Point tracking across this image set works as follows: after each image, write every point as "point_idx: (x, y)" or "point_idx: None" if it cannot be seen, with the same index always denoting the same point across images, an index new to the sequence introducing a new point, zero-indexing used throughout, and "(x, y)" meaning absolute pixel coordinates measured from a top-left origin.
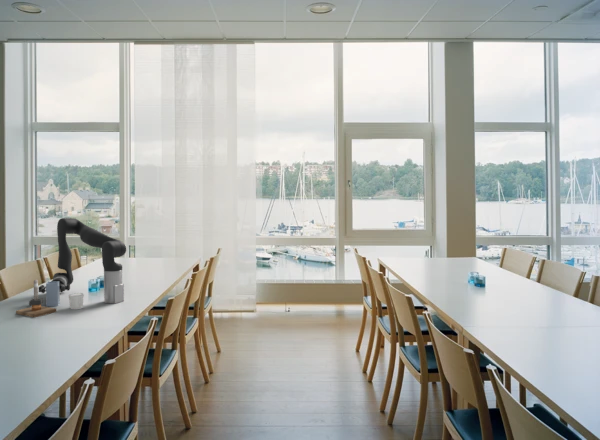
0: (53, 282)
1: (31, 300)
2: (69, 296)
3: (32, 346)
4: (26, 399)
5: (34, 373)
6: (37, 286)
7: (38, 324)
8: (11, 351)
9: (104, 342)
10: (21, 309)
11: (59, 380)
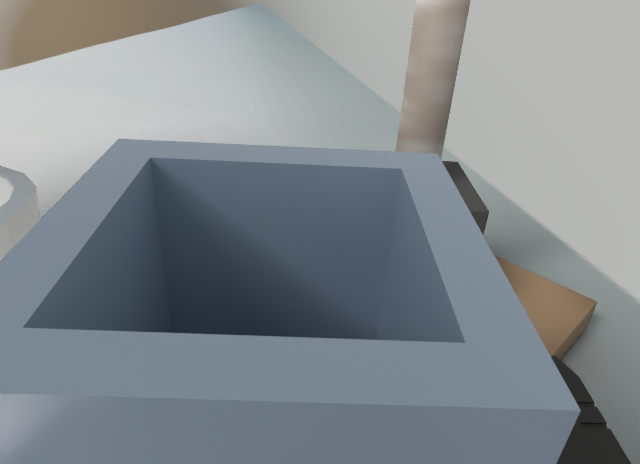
0: (250, 371)
1: (449, 172)
2: (35, 192)
3: (276, 62)
4: (252, 12)
5: (251, 27)
6: (417, 4)
7: (299, 143)
8: (320, 59)
9: (95, 47)
10: (566, 320)
11: (212, 18)
